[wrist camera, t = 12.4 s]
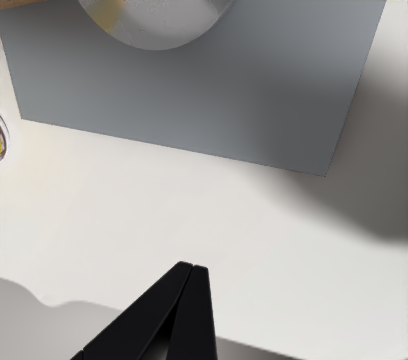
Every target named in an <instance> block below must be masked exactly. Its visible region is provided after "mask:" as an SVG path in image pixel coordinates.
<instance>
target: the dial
mask: <svg viewBox="0 0 408 360" xmlns="http://www.w3.org/2000/svg"><path fill="white" fill-rule="evenodd" d="M40 1H45V0H0V11H1V10H6V9H10V8H14V7H19V6H23V5H27V4H32V3H36V2H40ZM78 1H79V3H80V4H81V6H82V7H83V8H84V10H85V11H86V12H87V14H88V15H89V16H90V17H91V18H92V19H93V20H94V21H95V23H96V24H97V25H99V26H100V27H101V28H102V29H103V30H104V31H105V32H107V33H108V34H110V35H111V36H113V37H114V38H116V39H117V40H119V41H121V42H123V43H125V44H128V45H130V46H133V47H136V48H141V49H145V50H167V49H172V48H176V47H179V46H182V45H184V44H187V43H189V42H190V41H192V40H194V39H196V38H198V37H199V36H201V35H203V34H205V33H206V32H208V31H209V30H211V29H212V28H213V27H214V26H216V25H217V24H218V23H219V22H220V21H221V20H222V19H223V18H224V16H225V15H226V14H227V12H228V11H229V10H230V8H231V7H232V5H233V3H234V2H235V0H78Z"/></svg>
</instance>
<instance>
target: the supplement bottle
mask: <svg viewBox="0 0 408 360" xmlns="http://www.w3.org/2000/svg"><path fill="white" fill-rule="evenodd" d="M9 147H10V139H9V134H8V131H7V128H6V126H5V124H4V122H3V121H2V119H1V118H0V161H1V160H2V159H3V158H4V157H5V156H6V155H7V153H8V151H9Z"/></svg>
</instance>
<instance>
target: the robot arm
mask: <svg viewBox="0 0 408 360" xmlns="http://www.w3.org/2000/svg"><path fill="white" fill-rule="evenodd" d="M70 360H218V356H217V346H216V337H215V327H214V318H213V309H212V300H211V290H210V281H209V272H208V268H207V267H204V266H200V265H194V266H193V264H191V263H188V262H184V261H179V262H178V263H177V264H175V265H174V266H173V267H172V268H171V269H170V270H169V271H168V272H167V273H165V274H164V275H163V276H162V277H161V278H160V279H159V280H158V281H157V282H156V283H154V284H153V285H152V286H151V287H150V288H149V289H148V290H147V291H146V292H144V293H143V294H142V295H141V296H140V297H139V298H138V299H137V300H136V301H134V302H133V303H132V304H131V305H130V306H129V307H128V308H127V309H126V310H125V311H123V312H122V313H121V314H120V315H119V316H118V317H117V318H116V319H115V320H114V321H112V322H111V323H110V324H109V325H108V326H107V327H106V328H105V329H103V330H102V331H101V332H100V333H99V334H98V335H97V336H96V337H95V338H94V339H93V340H91V341H90V342H89V343H88V344H87V345H86V346H85V347H84V348H83V350H80V351H79V352H78V353H77V354H76V355H75V356H74V357H72V358H71V359H70Z"/></svg>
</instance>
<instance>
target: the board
mask: <svg viewBox="0 0 408 360" xmlns="http://www.w3.org/2000/svg"><path fill="white" fill-rule="evenodd" d="M385 3H386V0H235V2H234V3H233V5H232V7H231V8H230V10H229V11H228V12H227V14H226V15H225V16H224V18H223V19H222V20H221V21H220V22H219V23H218V24H217V25H216V26H214V27H213V28H212V29H211V30H209V31H208V32H206V33H205V34H203V35H201V36H199V37H198V38H196V39H194V40H192V41H190V42H189V43H187V44H184V45H182V46H179V47H176V48H172V49H167V50H145V49H141V48H136V47H133V46H130V45H128V44H125V43H123V42H121V41H119V40H117V39H116V38H114V37H113V36H111V35H110V34H108V33H107V32H105V31H104V30H103V29H102V28H101V27H100V26H99V25H97V24H96V23H95V21H94V20H93V19H92V18H91V17H90V16H89V15H88V14H87V12H86V11H85V10H84V8H83V7H82V6H81V4H80V3H79V1H78V0H45V1H40V2H36V3H32V4H27V5H23V6H19V7H14V8H10V9H6V10H1V11H0V35H1V39H2V43H3V47H4V51H5V55H6V59H7V63H8V67H9V71H10V75H11V80H12V84H13V88H14V92H15V96H16V100H17V104H18V108H19V112H20V116H21V119H25V120H30V121H35V122H40V123H46V124H51V125H56V126H61V127H67V128H72V129H77V130H82V131H88V132H93V133H98V134H103V135H109V136H114V137H119V138H124V139H130V140H135V141H140V142H145V143H151V144H156V145H161V146H166V147H172V148H177V149H182V150H187V151H192V152H198V153H203V154H208V155H213V156H219V157H224V158H229V159H234V160H240V161H245V162H250V163H255V164H261V165H266V166H271V167H276V168H282V169H287V170H292V171H297V172H303V173H308V174H313V175H318V176H324V177H326V174H327V171H328V168H329V165H330V162H331V160H332V157H333V154H334V151H335V148H336V145H337V142H338V139H339V136H340V133H341V131H342V128H343V125H344V122H345V119H346V116H347V113H348V110H349V107H350V104H351V102H352V99H353V96H354V93H355V90H356V87H357V84H358V81H359V78H360V76H361V73H362V70H363V67H364V64H365V61H366V58H367V55H368V52H369V49H370V47H371V44H372V41H373V38H374V35H375V32H376V29H377V26H378V23H379V20H380V18H381V15H382V12H383V9H384V6H385Z"/></svg>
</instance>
